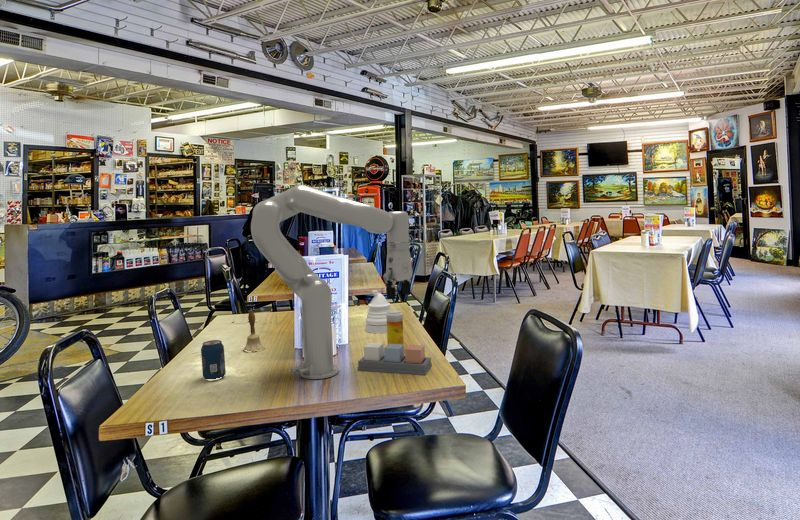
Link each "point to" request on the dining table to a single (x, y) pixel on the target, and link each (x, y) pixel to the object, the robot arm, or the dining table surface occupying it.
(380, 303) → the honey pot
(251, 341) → the hand bell
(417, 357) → the terracotta key
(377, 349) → the ivory key
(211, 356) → the soda can
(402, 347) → the blue key
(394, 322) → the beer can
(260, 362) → the dining table surface
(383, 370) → the grey flat block
